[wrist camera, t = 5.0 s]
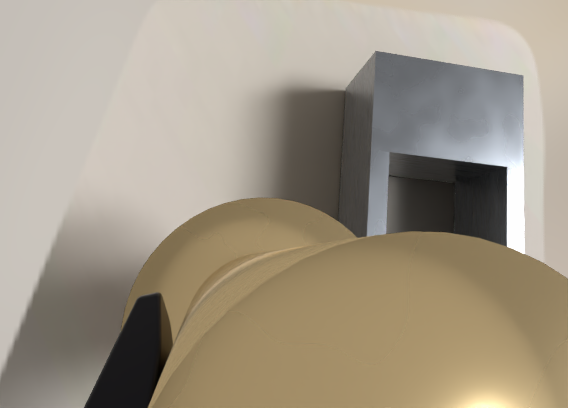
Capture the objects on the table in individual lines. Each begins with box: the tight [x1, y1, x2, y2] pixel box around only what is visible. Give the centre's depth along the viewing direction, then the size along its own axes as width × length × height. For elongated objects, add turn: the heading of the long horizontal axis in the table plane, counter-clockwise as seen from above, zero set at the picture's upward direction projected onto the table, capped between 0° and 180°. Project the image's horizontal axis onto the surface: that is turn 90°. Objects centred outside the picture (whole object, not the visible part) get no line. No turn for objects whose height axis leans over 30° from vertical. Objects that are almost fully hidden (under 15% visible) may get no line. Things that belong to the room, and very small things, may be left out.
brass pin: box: [121, 198, 568, 408], centre depth 9 cm, size 7×7×13 cm
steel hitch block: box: [338, 51, 524, 254], centre depth 19 cm, size 15×7×4 cm, turn 176°
